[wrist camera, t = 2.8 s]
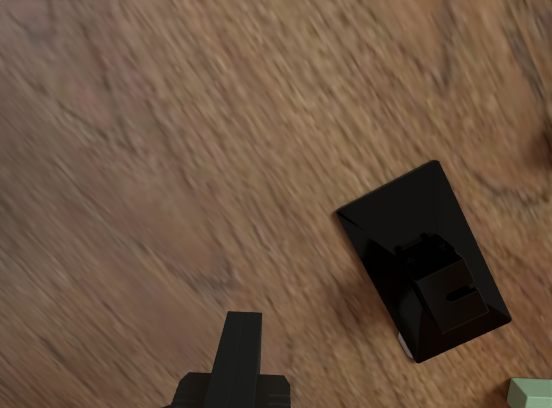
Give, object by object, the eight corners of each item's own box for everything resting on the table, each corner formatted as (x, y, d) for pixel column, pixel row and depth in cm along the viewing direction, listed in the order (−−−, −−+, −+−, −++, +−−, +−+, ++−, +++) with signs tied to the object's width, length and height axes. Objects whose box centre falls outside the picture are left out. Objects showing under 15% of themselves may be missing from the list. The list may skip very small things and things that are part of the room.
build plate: (509, 317, 28) (553, 358, 23) (410, 362, 29) (435, 410, 24) (436, 157, 25) (469, 169, 21) (330, 212, 26) (341, 235, 22)
